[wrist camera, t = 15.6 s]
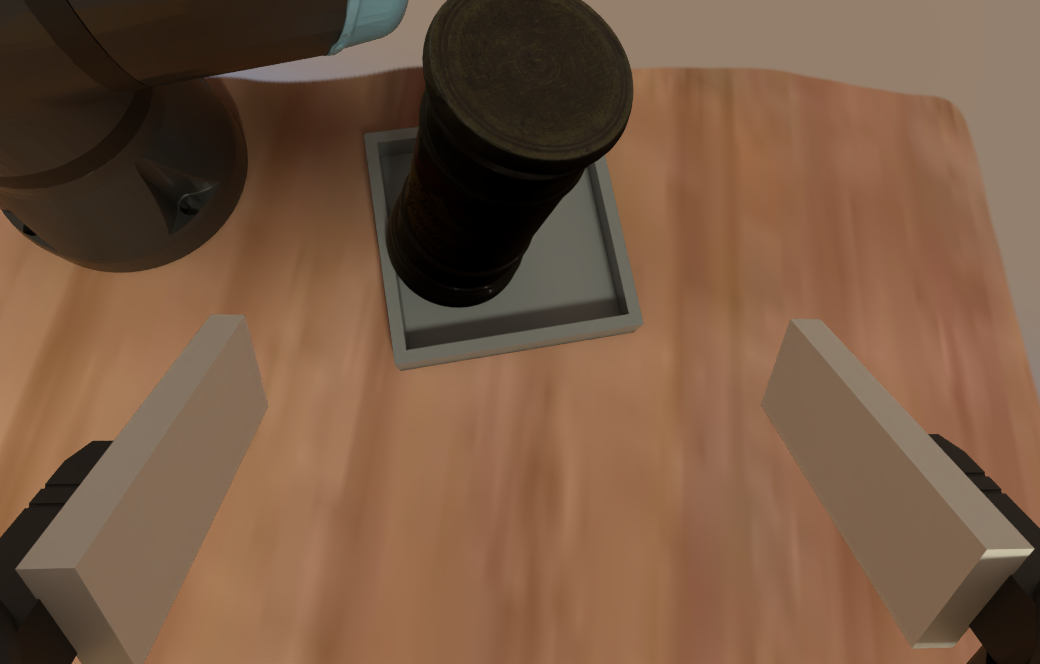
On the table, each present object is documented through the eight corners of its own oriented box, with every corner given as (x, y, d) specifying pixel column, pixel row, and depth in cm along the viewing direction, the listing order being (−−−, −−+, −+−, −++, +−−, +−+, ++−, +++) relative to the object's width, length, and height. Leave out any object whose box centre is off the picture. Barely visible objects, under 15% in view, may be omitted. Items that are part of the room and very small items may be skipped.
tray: (400, 370, 38) (395, 364, 36) (370, 152, 41) (363, 133, 39) (633, 332, 40) (643, 323, 37) (587, 125, 43) (593, 105, 40)
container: (438, 159, 40) (507, -77, 23) (541, 240, 40) (680, 68, 24) (354, 251, 36) (363, 53, 20) (467, 337, 37) (568, 217, 20)
